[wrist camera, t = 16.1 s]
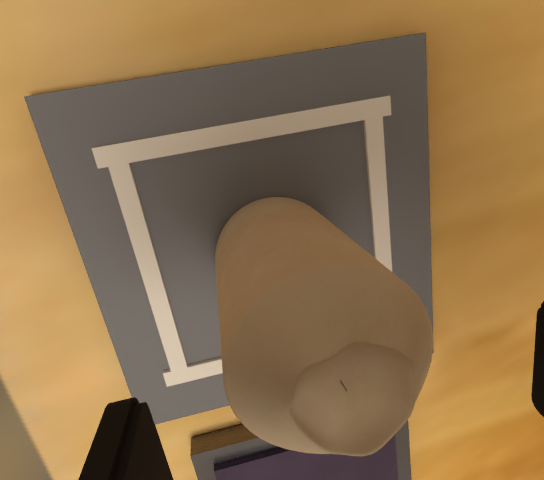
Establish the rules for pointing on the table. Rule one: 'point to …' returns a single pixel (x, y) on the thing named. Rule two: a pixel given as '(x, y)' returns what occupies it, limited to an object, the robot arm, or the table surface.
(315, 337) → the candle
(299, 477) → the ink pad
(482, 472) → the table surface
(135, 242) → the marked board
